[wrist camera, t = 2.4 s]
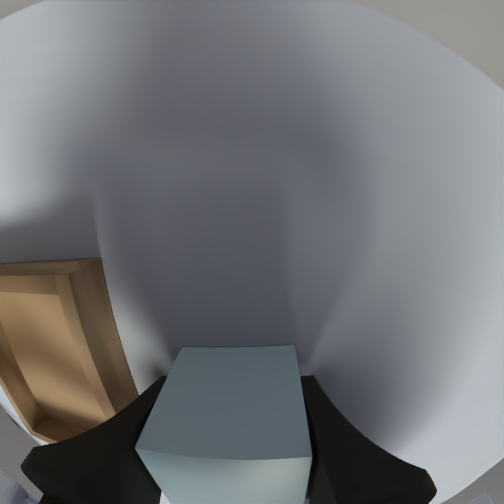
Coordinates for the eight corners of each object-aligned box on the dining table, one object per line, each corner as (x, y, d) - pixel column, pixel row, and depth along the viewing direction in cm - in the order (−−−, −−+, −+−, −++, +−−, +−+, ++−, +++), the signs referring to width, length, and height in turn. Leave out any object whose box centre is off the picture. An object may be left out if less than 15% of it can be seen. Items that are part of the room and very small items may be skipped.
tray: (161, 447, 14) (150, 475, 12) (45, 416, 15) (31, 434, 12) (100, 257, 11) (67, 275, 9) (-15, 264, 12) (-41, 275, 9)
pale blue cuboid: (291, 450, 14) (297, 533, 8) (208, 450, 14) (192, 530, 8) (294, 344, 12) (312, 456, 6) (181, 346, 12) (134, 447, 6)
